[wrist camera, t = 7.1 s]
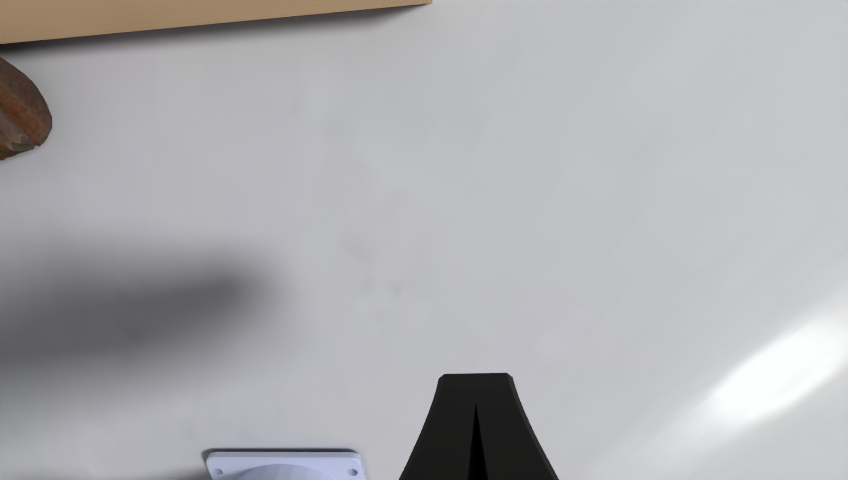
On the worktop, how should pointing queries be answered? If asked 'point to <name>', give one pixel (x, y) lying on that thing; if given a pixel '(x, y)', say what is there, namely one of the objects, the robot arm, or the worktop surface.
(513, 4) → the worktop surface
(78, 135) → the worktop surface
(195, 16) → the walnut board
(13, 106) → the bolt
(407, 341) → the worktop surface
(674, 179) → the worktop surface
